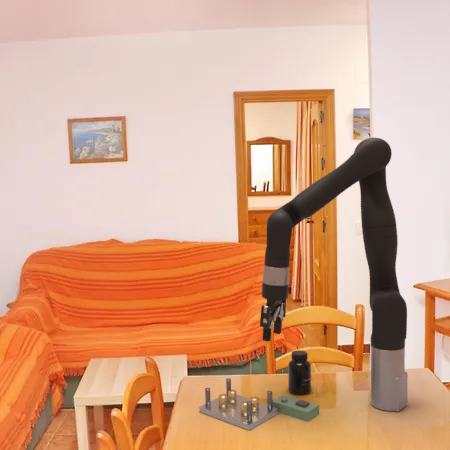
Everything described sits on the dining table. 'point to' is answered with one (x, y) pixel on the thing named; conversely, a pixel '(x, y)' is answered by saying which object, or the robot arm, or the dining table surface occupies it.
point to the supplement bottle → (299, 373)
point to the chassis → (239, 408)
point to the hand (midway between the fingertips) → (272, 336)
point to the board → (296, 407)
